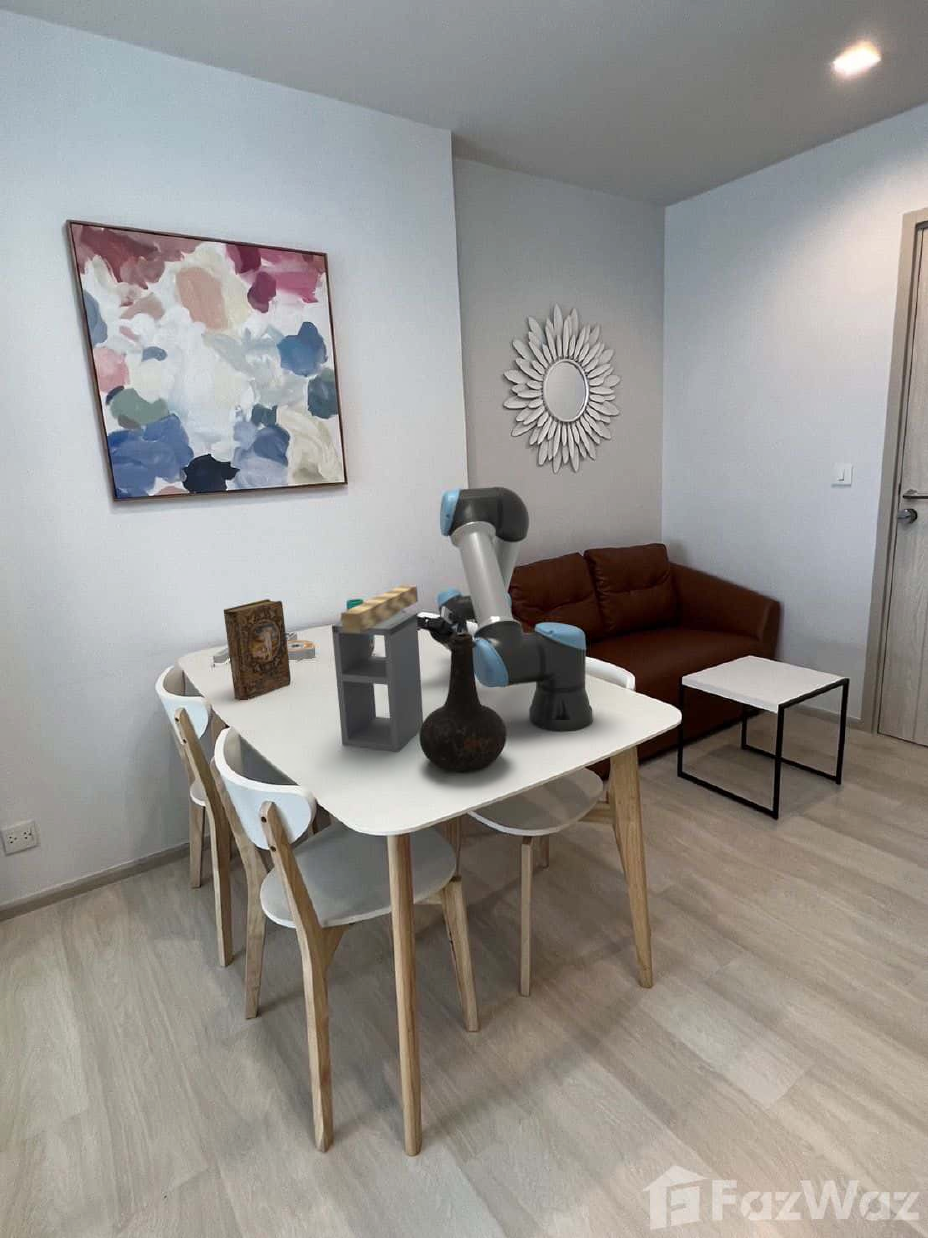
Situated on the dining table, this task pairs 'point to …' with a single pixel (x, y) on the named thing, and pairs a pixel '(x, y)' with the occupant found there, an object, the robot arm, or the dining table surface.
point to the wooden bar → (378, 608)
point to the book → (257, 648)
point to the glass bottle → (462, 719)
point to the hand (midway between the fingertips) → (418, 610)
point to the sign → (294, 646)
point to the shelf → (366, 670)
